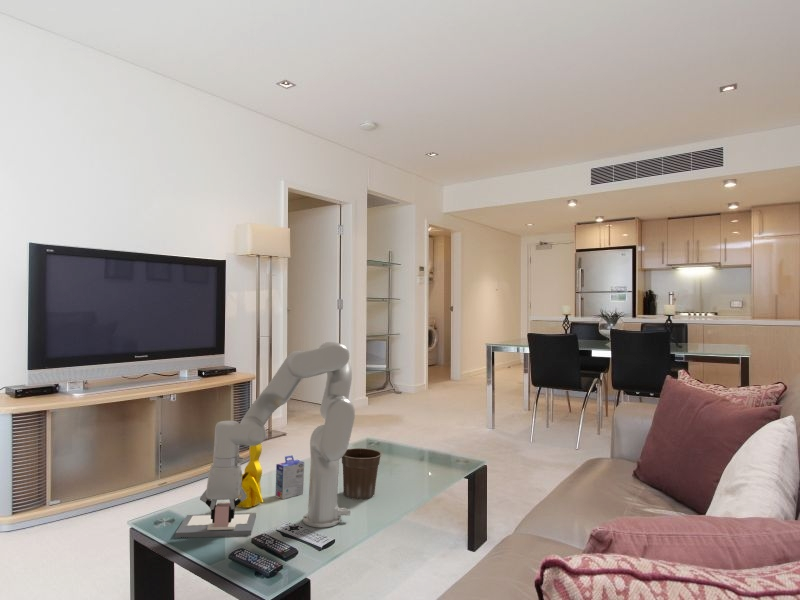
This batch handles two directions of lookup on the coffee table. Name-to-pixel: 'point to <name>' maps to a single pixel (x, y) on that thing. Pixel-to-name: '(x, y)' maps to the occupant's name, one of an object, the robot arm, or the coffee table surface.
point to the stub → (221, 518)
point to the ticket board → (199, 524)
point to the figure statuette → (252, 479)
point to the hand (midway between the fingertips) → (222, 520)
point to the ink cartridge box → (289, 478)
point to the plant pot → (360, 472)
